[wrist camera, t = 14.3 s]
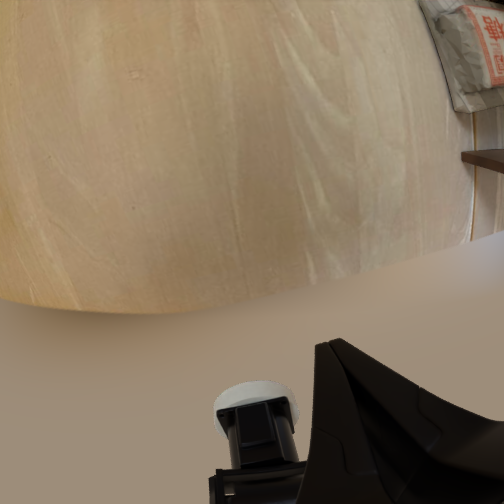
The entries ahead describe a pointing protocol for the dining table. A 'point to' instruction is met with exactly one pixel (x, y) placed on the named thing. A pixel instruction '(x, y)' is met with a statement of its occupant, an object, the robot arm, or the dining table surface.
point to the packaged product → (469, 50)
